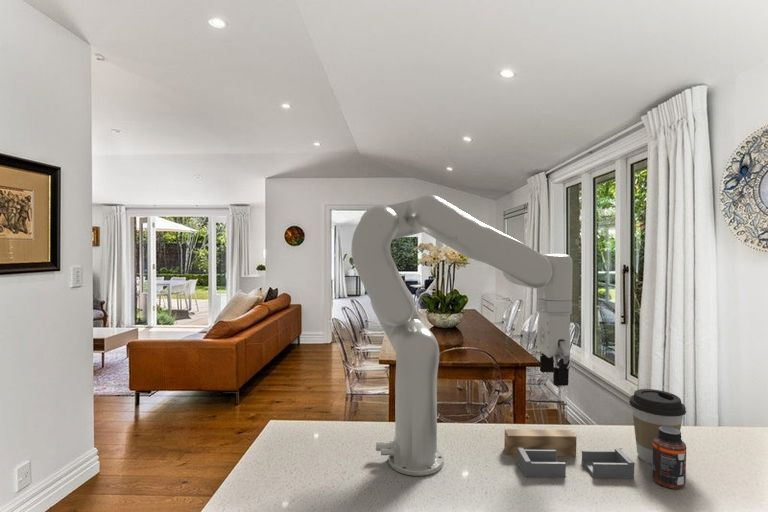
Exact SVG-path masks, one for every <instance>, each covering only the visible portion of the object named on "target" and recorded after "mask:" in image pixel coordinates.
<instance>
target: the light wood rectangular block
mask: <svg viewBox="0 0 768 512" xmlns="http://www.w3.org/2000/svg"><path fill="white" fill-rule="evenodd" d="M503 445H504V447H503V449H504V450H505V453H506V455H507V456H517V457H518V448H523V449H529V450H556V457H577V435H576V434H575V433H574V432H573V431H572V430H571V429H518V428H517V429H511V428H509V429H508V428H507V429H506V428H505V429H504V444H503Z"/></svg>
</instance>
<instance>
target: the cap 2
mask: <svg viewBox="0 0 768 512" xmlns="http://www.w3.org/2000/svg"><path fill="white" fill-rule="evenodd" d="M581 464H582V466H583V467H584V468H585V469H586V470H587V471H588V473H589V474H590V475H591V476H592V478H593V479H594V478H595V479H597V478H598V479H600V478H601V479H635V466H636V465H635V462H634V461H633V460H632V459H631V458H630V457H629V456H628V455H627V454H626V453H625V452H624V451H623V450H622V449H621V448H614V450H607V449H605V450H603V449H602V450H601V449H600V450H599V449H598V450H595V449H587V450H586V449H582V450H581Z"/></svg>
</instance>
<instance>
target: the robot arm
mask: <svg viewBox="0 0 768 512" xmlns="http://www.w3.org/2000/svg"><path fill="white" fill-rule="evenodd" d="M420 233H425V234H426V235H428V236H430V237H431V238H433V239H435V240H437V241H439V242H441V243H442V244H443V245H445V246H447V247H449V248H451V249H452V250H454V251H456V252H457V253H459V254H461V255H462V256H465V257H467V258H469V259H472V260H474V261H476V262H477V261H478V262H480V263H483V264H486V265H489V266H492V267H493V268H495V269H498V270H500V272H502V276H503V277H504V278H505V279H506V280H507V281H508V282H510V283H511V284H513V285H514V284H515V285H519V286H522V287H526V288H530V289H537V313H538V318H537V319H538V320H537V329H536V348H537V350H539V354H540V356H539V371H540V373H553V374H552V375H553V376H552V378H553V379H552V380H553V381H552V384H553V386H556V387H557V386H562V387H563V386H565V387H566V386H567V387H568V386H569V373H570V372H569V370H570V363H571V362H570V357H571V329H570V327H571V326H570V325H571V324H570V315H572V314H573V313H572V311H573V310H572V308H573V304H572V303H573V300H572V299H573V258H572V257H571V256H570V255H569V254H564V253H545V254H541V253H540V252H539V251H537V250H535V249H534V248H532V247H530V246H529V245H527V244H525V243H523V242H522V241H519V240H517V239H516V238H514V237H511V236H510V235H508V234H505V233H503V232H502V231H500V230H498V229H495V228H494V227H492V226H490V225H487V224H485V223H483V222H482V221H480V220H478V219H476V218H475V217H473V216H471V215H470V214H468V213H466V212H465V211H463V210H461V209H459V208H458V207H457V206H456V205H453V204H452V203H450V202H448V201H446V200H445V199H443V198H441V197H439V196H438V195H434V194H423V195H420V196H418V197H416V198H412V199H409V200H406V201H402V202H398V203H393V204H388V205H383V204H378V205H373V206H372V207H369V208H368V209H367V210H366V211H365V212H364V213H363V214H362V216H361V217H360V220H359V222H358V223H357V226H356V227H355V230H354V232H353V235H352V239H351V251H350V252H351V257H352V262H353V265H354V268H355V271H356V272H357V274H358V277H359V278H360V279H359V280H360V281H361V283H362V285H363V288H364V289H365V292H366V293H367V295H368V297H369V299H370V305H371V308H372V310H373V312H374V314H375V316H376V318H377V320H378V322H379V323H380V325H381V327H382V329H383V331H384V333H385V335H386V337H387V338H388V341H389V342H390V345H391V346H392V348H393V350H394V353H395V359H396V360H395V362H396V363H395V377H394V378H395V380H394V382H395V383H394V387H395V388H394V390H395V391H394V396H395V397H394V399H395V400H394V401H395V404H394V405H395V406H394V407H395V408H394V409H395V411H394V413H395V417H394V419H395V426H394V427H395V436H394V437H393V440H392V441H390V440H389V442H382V441H379V442H377V441H376V442H375V452H380V455H381V456H388V464H389V466H390V467H391V468H392V469H394V471H396V472H398V473H401V474H404V475H407V476H412V477H415V476H416V477H417V476H418V477H420V476H422V477H424V476H429V475H432V474H434V473H436V472H438V471H440V470H441V469H442V468H443V466H444V456H443V454H442V453H441V452H440V451H439V450H438V449H437V446H438V445H437V443H438V440H437V439H438V437H437V433H438V432H437V431H438V429H437V427H438V425H437V424H438V412H437V411H438V373H439V371H438V370H439V362H440V346H439V343H438V341H437V338H436V336H435V335H434V333H433V332H432V331H431V330H430V329H429V328H428V327H427V326H426V325H425V324H424V322H423V320H422V318H421V317H420V314H419V312H418V311H417V308H416V304H415V300H414V297H413V294H412V292H411V291H410V290H409V288H408V286H407V285H406V283H405V281H404V280H403V278H402V276H401V275H402V274H401V273H400V272H399V270H398V267H397V265H396V263H395V260H394V258H393V255H392V251H391V245H392V241H393V240H396V239H400V238H405V237H406V238H407V237H410V236H414V235H417V234H420Z"/></svg>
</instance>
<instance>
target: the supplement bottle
mask: <svg viewBox="0 0 768 512" xmlns="http://www.w3.org/2000/svg"><path fill="white" fill-rule="evenodd" d="M658 434H659V435H658V436H656V437H654V439H653V463H652V464H651V465H652V467H651V468H652V469H651V475H652V479H653V480H654V481H655V482H656V483H657V484H659V485H660V486H662V487H665V488H668V489H673V490H681V489H683V488H684V487H685V486H686V481H687V479H686V476H687V445H686V444H687V443H685V442H684V441H683V440H682V431H681V429H680V430H678V429H676V428H672V427H667V426H662V427H659V432H658Z"/></svg>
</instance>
